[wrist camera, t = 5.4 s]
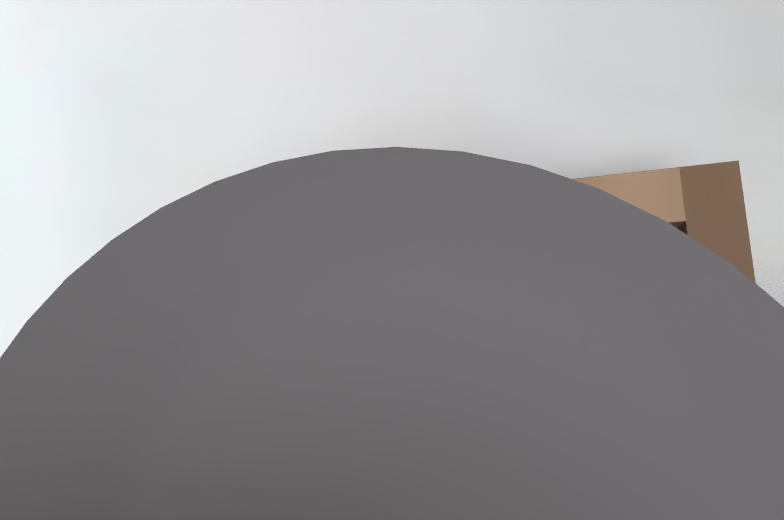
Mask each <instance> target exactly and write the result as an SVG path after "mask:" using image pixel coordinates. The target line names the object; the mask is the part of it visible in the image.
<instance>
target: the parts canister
mask: <svg viewBox="0 0 784 520" xmlns="http://www.w3.org/2000/svg"><path fill="white" fill-rule="evenodd" d="M0 520H784V307H783V306H781V305H780V304H779V303H778V302H777V301H775V300H774V299H773V298H772V297H771V296H769V295H768V294H767V293H766V292H765V291H764V290H762V289H761V288H760V287H759V286H758V285H756V284H755V283H754V282H753V281H752V280H751V279H749V278H748V277H747V276H746V275H745V274H743V273H742V272H741V271H740V270H739V269H738V268H736V267H735V266H734V265H733V264H731V263H729V262H728V261H726V260H725V259H723V258H722V257H720V256H719V255H717V254H716V253H714V252H713V251H711V250H710V249H708V248H706V247H705V246H703V245H702V244H700V243H699V242H697V241H696V240H694V239H693V238H691V237H690V236H688V235H687V234H685V233H683V232H682V231H680V230H679V229H677V228H676V227H674V226H673V225H671V224H670V223H668V222H666V221H664V220H662V219H660V218H658V217H656V216H654V215H652V214H650V213H648V212H646V211H644V210H642V209H640V208H638V207H636V206H634V205H632V204H630V203H627V202H625V201H623V200H621V199H619V198H617V197H615V196H613V195H611V194H609V193H607V192H605V191H603V190H601V189H599V188H596V187H593V186H590V185H587V184H584V183H581V182H578V181H575V180H572V179H569V178H566V177H563V176H560V175H557V174H554V173H551V172H549V171H546V170H543V169H540V168H537V167H534V166H531V165H526V164H521V163H516V162H511V161H506V160H502V159H497V158H492V157H487V156H482V155H477V154H472V153H467V152H461V151H446V150H432V149H417V148H403V147H389V148H372V149H356V150H340V151H330V152H325V153H319V154H314V155H309V156H304V157H299V158H294V159H289V160H284V161H278V162H273V163H270V164H267V165H264V166H261V167H258V168H255V169H252V170H249V171H246V172H243V173H240V174H237V175H234V176H231V177H228V178H225V179H222V180H219V181H216V182H213V183H211V184H209V185H207V186H205V187H203V188H201V189H199V190H197V191H195V192H193V193H191V194H189V195H187V196H184V197H182V198H180V199H178V200H176V201H174V202H172V203H170V204H168V205H166V206H164V207H162V208H160V209H159V210H157V211H156V212H154V213H152V214H151V215H149V216H148V217H146V218H145V219H143V220H142V221H140V222H139V223H137V224H136V225H134V226H133V227H131V228H130V229H128V230H126V231H125V232H123V233H122V234H120V235H119V236H117V237H116V238H114V239H113V240H111V241H110V242H109V243H108V244H107V245H105V246H104V247H103V248H102V249H101V250H100V251H98V252H97V253H96V254H95V255H94V256H92V257H91V258H90V259H89V260H88V261H87V262H85V263H84V264H83V265H82V266H81V267H79V268H78V269H77V270H76V271H75V272H74V273H72V274H71V275H70V276H69V277H68V278H67V279H66V280H65V281H64V282H63V283H62V284H61V285H60V286H59V287H58V288H57V289H56V291H55V292H54V293H53V294H52V295H51V296H50V297H49V298H48V299H47V300H46V301H45V302H44V304H43V305H42V306H41V307H40V308H39V309H38V310H37V311H36V312H35V313H34V314H33V315H32V316H31V318H30V319H29V320H28V321H27V322H26V323H25V325H24V326H23V328H22V329H21V330H20V332H19V333H18V334H17V336H16V337H15V339H14V340H13V341H12V343H11V344H10V345H9V347H8V348H7V350H6V351H5V352H4V354H3V355H2V356H1V358H0Z"/></svg>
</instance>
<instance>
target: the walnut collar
mask: <svg viewBox="0 0 784 520" xmlns="http://www.w3.org/2000/svg"><path fill="white" fill-rule="evenodd" d="M572 180H575V181H578V182H581V183H584V184H587V185H590V186H593V187H596V188H599V189H601V190H603V191H605V192H607V193H609V194H611V195H613V196H615V197H617V198H619V199H621V200H623V201H625V202H627V203H630V204H632V205H634V206H636V207H638V208H640V209H642V210H644V211H646V212H648V213H650V214H652V215H654V216H656V217H658V218H660V219H662V220H664V221H666V222H668V223H670V224H671V225H673V226H674V227H676V228H677V229H679V230H680V231H682V232H683V233H685V234H687V235H688V236H690V237H691V238H693V239H694V240H696V241H697V242H699V243H700V244H702V245H703V246H705V247H706V248H708V249H710V250H711V251H713V252H714V253H716V254H717V255H719V256H720V257H722V258H723V259H725V260H726V261H728V262H729V263H731V264H733V265H734V266H735V267H736V268H738V269H739V270H740V271H741V272H742V273H743V274H745V275H746V276H747V277H748V278H749V279H751V280H752V281H753V282H754V283H755V277H754V269H753V262H752V255H751V248H750V240H749V233H748V226H747V219H746V211H745V204H744V197H743V190H742V182H741V175H740V168H739V161H732V162H723V163H714V164H705V165H696V166H686V167H677V168H668V169H659V170H650V171H641V172H632V173H623V174H614V175H605V176H595V177H586V178H577V179H572Z"/></svg>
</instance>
